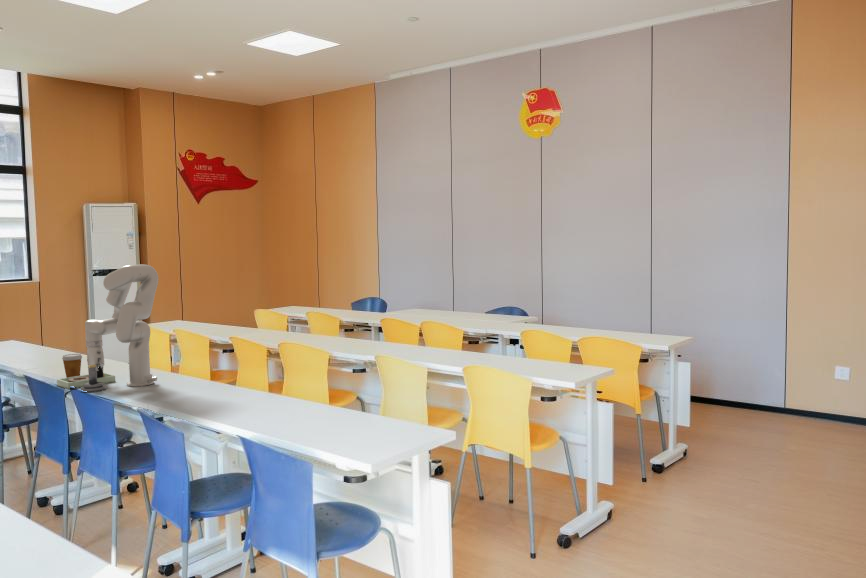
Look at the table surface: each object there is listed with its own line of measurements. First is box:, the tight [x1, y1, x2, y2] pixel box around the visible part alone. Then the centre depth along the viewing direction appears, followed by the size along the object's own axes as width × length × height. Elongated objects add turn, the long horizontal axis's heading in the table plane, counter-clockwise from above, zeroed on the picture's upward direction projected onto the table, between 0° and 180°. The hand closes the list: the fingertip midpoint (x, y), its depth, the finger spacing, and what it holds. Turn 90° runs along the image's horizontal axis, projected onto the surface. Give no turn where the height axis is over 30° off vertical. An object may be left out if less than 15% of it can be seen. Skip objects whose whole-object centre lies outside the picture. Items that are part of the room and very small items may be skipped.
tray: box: [56, 371, 116, 390], centre depth 349 cm, size 23×15×3 cm, turn 138°
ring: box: [68, 374, 105, 383], centre depth 349 cm, size 16×10×3 cm, turn 138°
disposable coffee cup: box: [61, 353, 83, 378], centre depth 365 cm, size 10×10×12 cm
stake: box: [80, 364, 107, 393], centre depth 334 cm, size 11×11×12 cm
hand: (96, 377), depth 353 cm, fingers open, 9 cm apart
